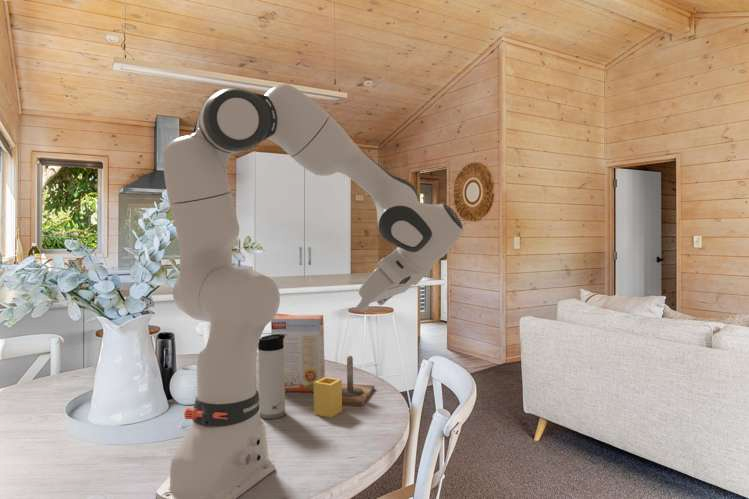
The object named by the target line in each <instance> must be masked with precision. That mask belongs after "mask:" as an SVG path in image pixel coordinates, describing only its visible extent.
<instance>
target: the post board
mask: <svg viewBox="0 0 749 499" xmlns="http://www.w3.org/2000/svg"><path fill="white" fill-rule="evenodd" d="M353 361H354V359H353V356H352V355H348V356H347V358H346V378H347V380H346V382H347V383H343V382H342V406H354V407H355V406H356V407H358V406H359V407H362V406H363V405H364V403H365V402H366V401H367V399H368V398H369V397H370V395H372V393H373V391H374V390H375V384H374V385H371V384H357V383H356V384H355V383H354V362H353Z"/></svg>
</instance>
